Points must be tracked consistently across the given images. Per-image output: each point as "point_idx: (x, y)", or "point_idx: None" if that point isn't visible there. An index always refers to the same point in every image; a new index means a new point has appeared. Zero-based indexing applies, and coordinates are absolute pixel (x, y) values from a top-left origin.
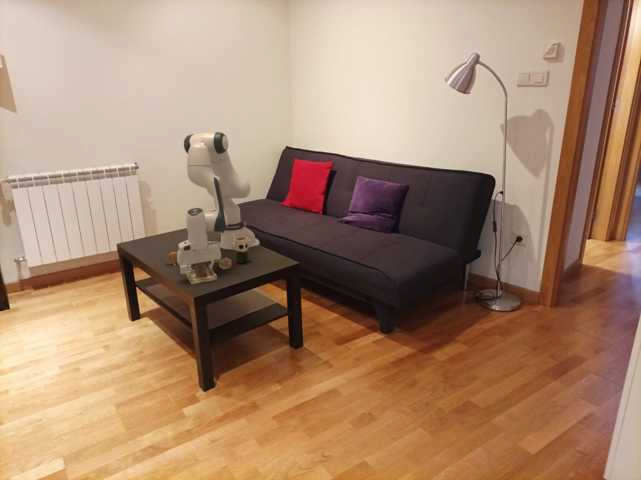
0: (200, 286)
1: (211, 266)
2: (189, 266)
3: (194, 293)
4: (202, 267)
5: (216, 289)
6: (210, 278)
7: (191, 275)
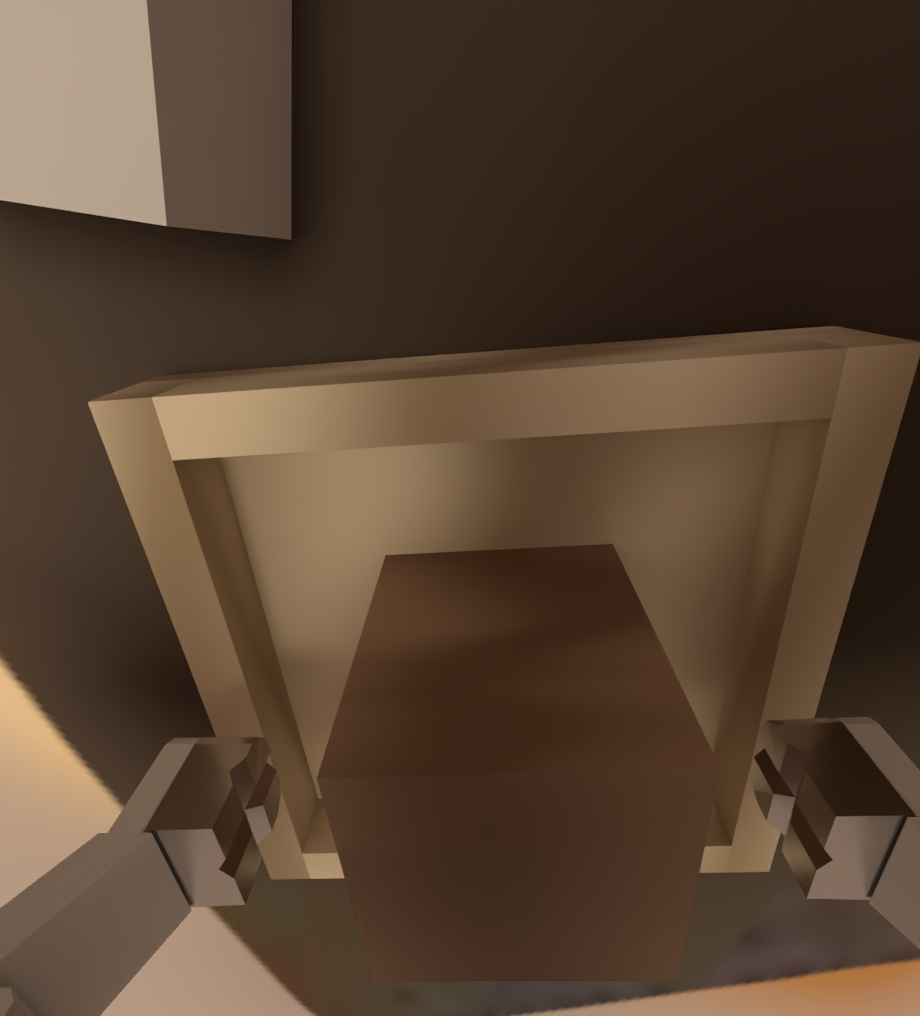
0: None
1: (871, 881)
2: (128, 219)
3: (328, 993)
4: (561, 955)
5: (593, 997)
6: None
7: (287, 512)
